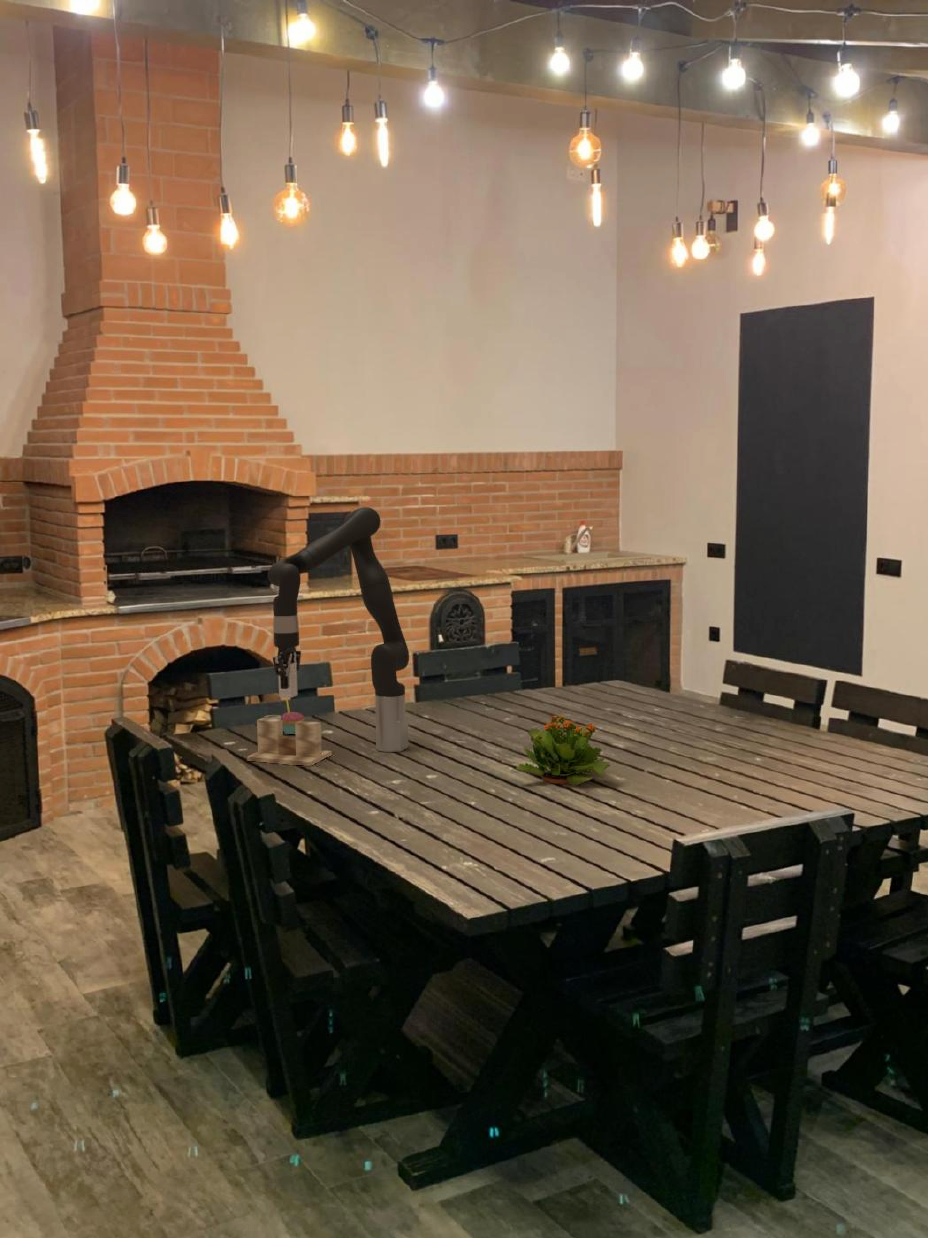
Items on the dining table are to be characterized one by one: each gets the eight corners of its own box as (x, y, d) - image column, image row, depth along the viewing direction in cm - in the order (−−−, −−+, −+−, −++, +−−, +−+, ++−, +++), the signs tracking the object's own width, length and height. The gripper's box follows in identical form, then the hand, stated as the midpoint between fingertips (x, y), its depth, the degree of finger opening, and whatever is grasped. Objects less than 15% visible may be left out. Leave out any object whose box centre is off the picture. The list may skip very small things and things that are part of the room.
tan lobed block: (331, 756, 375) (330, 718, 373) (310, 767, 362) (308, 728, 360) (270, 750, 382) (269, 714, 381) (247, 761, 369) (246, 723, 368)
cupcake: (274, 734, 405) (272, 698, 403) (289, 729, 412) (288, 694, 411) (295, 737, 401) (294, 700, 399) (310, 731, 408) (309, 696, 407)
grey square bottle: (297, 695, 370) (295, 652, 368) (291, 697, 366) (289, 654, 365) (285, 694, 371) (283, 651, 370) (279, 697, 368) (277, 653, 366)
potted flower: (527, 794, 330) (527, 730, 328) (501, 772, 353) (500, 712, 350) (614, 786, 337) (615, 723, 334) (583, 766, 359) (583, 707, 357)
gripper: (286, 634, 359) (288, 692, 361) (308, 627, 372) (310, 683, 374) (263, 633, 361) (265, 691, 363) (286, 626, 374) (288, 682, 377)
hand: (288, 687), depth 369 cm, fingers closed on grey square bottle, 4 cm apart
